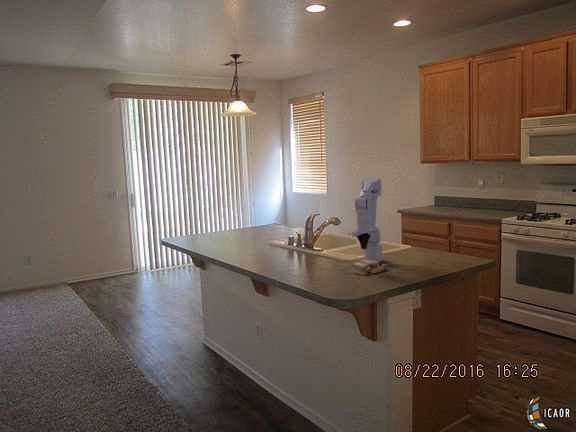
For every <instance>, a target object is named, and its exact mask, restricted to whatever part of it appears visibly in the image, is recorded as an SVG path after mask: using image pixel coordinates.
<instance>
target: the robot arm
mask: <svg viewBox="0 0 576 432" xmlns="http://www.w3.org/2000/svg"><path fill="white" fill-rule="evenodd" d="M361 189H362V190H361V191H360V193H359V195H358V197H357V198H355V200H354V208H355V213H356V225H357V226H356V227H357V228H356V229H357V230H355V231H352V232H351V237H354V238H357V240H358V242H359V245H360V248H361V250H364V251H363V252H364V253H363V254H364V259H362V260H360V262H361V261H365V260H373V261H379V262H381V261H384V258H383V248H382V245H381V241H382V237H381V236H382V235H381V230H380V229H379V228H378V227H377V226H376V222H377V203H378V202H377V201H378V198H379V196H381V195H382V180H381V178H367V179H364V178H362V180H361Z"/></svg>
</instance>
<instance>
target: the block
mask: <svg viewBox="0 0 576 432" xmlns="http://www.w3.org/2000/svg"><path fill="white" fill-rule="evenodd" d="M368 266H371V267H372V269H375V268H378V267H380V261H373V260H365V261H361V260H360V261H358V262H355V263H351V273H353V274H357V275H362V276H364V275H366V274H369V272H368Z"/></svg>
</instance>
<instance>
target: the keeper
mask: <svg viewBox="0 0 576 432" xmlns="http://www.w3.org/2000/svg"><path fill="white" fill-rule="evenodd" d="M382 271H388V264H385V263H384V264H383V263H382V264H381V266H379V267H378V268H375V269H371V270H370V272H369V273H370V274H375V273H380V272H382Z"/></svg>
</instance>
